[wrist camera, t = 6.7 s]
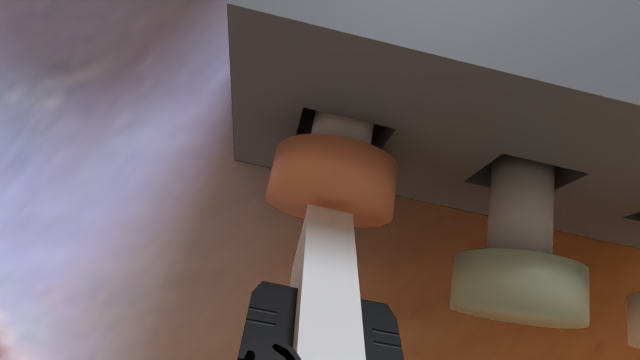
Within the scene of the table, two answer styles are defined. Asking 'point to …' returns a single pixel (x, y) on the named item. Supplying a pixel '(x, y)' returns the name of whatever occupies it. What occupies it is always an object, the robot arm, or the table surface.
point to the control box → (456, 94)
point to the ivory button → (633, 319)
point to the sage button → (521, 256)
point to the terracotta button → (334, 172)
